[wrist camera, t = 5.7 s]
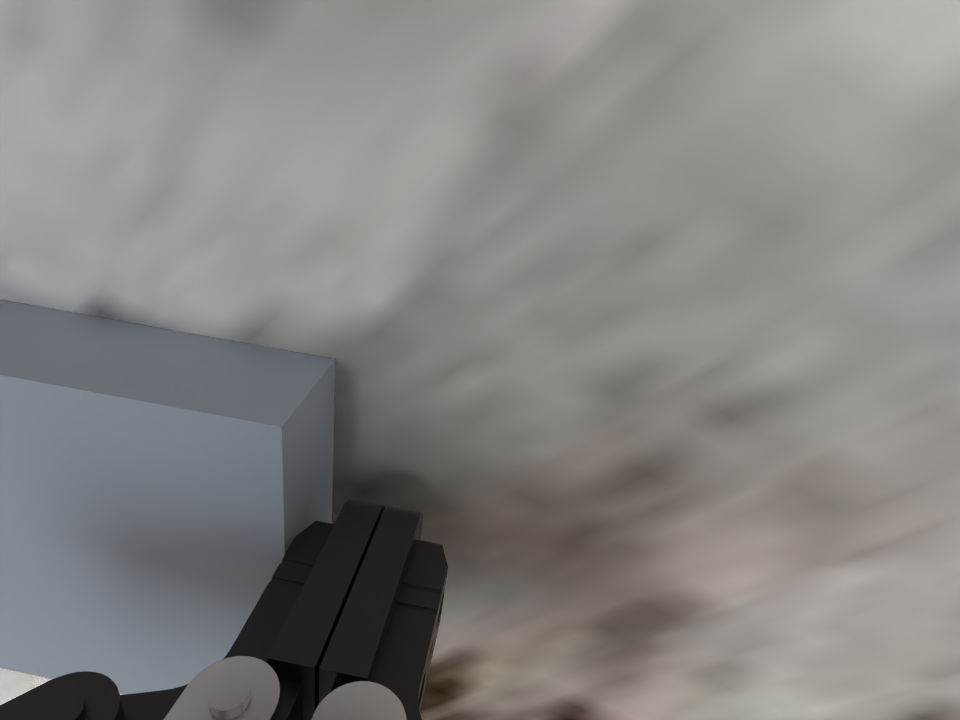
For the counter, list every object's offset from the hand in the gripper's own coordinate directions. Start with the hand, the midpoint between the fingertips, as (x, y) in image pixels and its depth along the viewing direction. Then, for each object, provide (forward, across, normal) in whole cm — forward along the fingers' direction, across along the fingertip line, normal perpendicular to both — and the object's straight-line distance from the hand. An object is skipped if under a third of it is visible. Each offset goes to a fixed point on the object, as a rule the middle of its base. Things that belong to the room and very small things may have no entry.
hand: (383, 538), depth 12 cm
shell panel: (+2, +8, +1) cm, 9 cm away
